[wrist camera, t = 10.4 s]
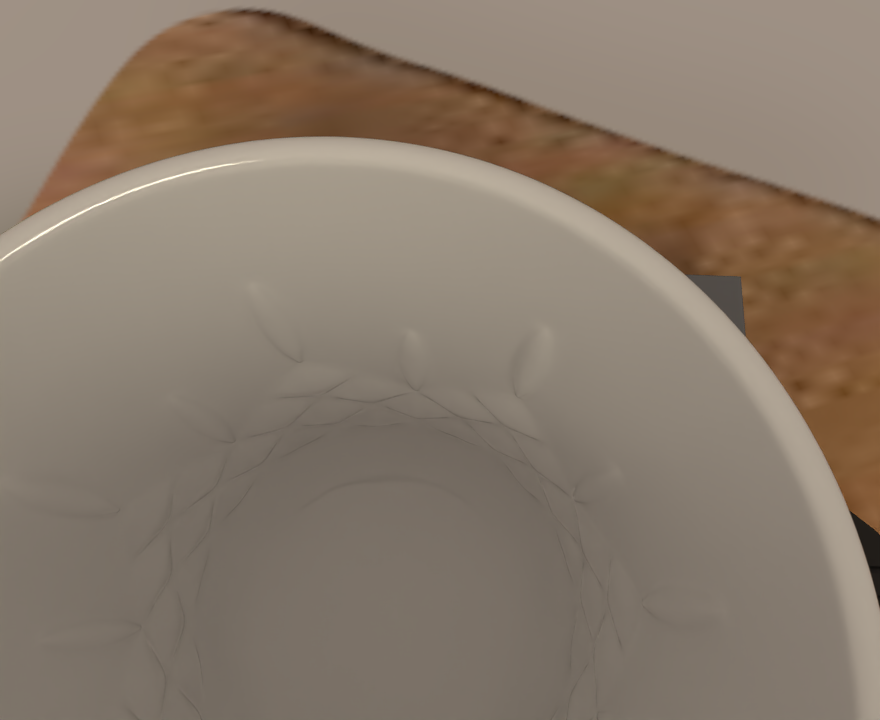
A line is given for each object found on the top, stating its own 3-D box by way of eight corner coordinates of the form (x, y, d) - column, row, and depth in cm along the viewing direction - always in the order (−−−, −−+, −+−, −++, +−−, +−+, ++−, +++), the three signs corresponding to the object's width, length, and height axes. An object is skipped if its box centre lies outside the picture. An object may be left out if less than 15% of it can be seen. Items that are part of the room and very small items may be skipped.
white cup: (525, 368, 16) (639, 34, 6) (656, 758, 13) (1167, 1198, 4) (168, 469, 15) (-321, 276, 6) (242, 892, 13) (-370, 1796, 3)
